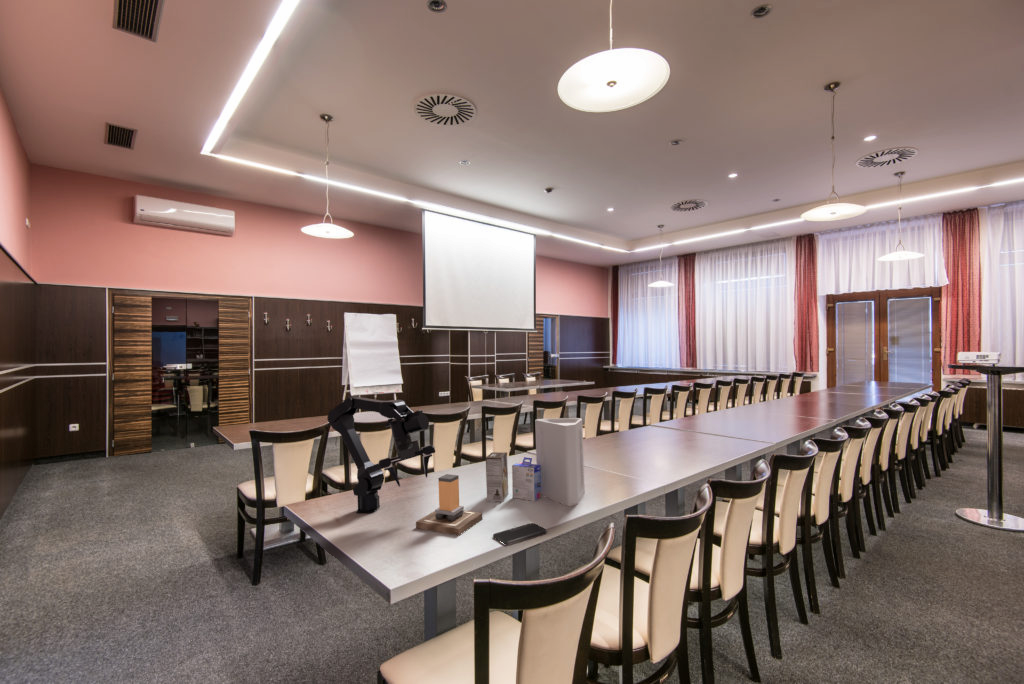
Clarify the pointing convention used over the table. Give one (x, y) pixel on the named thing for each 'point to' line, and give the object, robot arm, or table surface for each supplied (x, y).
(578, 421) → the white triangular vase
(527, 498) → the ink cartridge box
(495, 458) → the coffee box
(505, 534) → the phone
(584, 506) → the table surface
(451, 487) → the grey-topped tan box
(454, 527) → the dock
